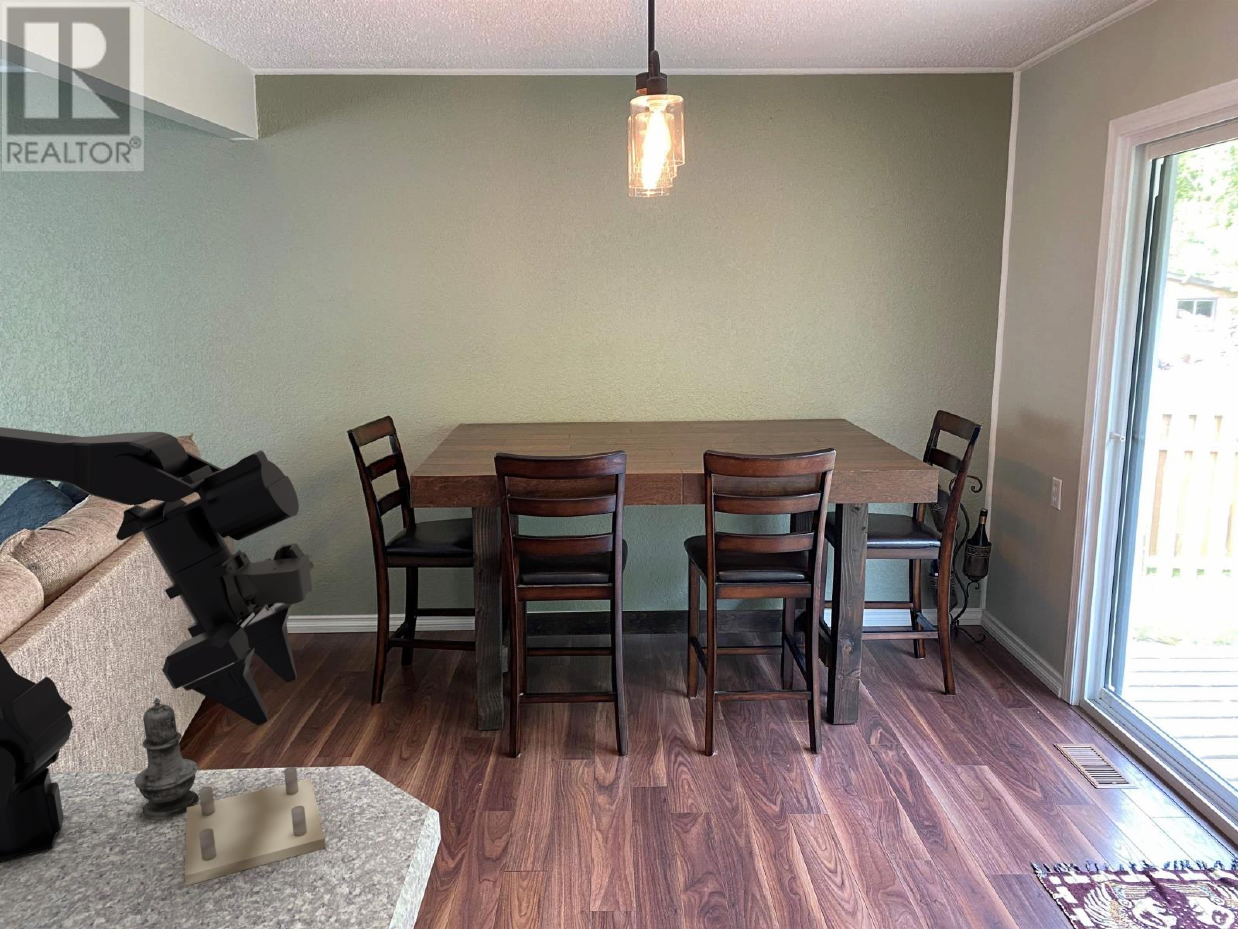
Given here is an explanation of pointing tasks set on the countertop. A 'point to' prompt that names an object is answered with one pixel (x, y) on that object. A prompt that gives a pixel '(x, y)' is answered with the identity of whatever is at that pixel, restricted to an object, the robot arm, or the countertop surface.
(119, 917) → the countertop surface
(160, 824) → the countertop surface
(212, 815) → the pin board
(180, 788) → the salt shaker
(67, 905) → the countertop surface
